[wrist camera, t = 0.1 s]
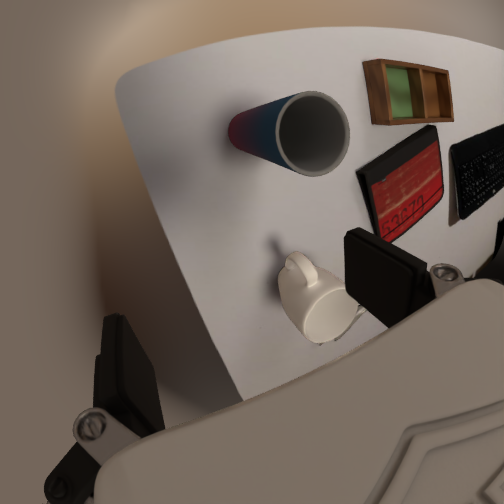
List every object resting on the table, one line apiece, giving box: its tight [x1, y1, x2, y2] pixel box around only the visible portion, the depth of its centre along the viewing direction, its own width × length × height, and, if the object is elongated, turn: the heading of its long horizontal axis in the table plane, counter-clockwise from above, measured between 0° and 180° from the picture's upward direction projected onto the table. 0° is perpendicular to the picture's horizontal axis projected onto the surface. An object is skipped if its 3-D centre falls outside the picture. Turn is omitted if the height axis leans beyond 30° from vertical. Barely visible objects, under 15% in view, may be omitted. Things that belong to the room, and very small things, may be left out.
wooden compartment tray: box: [363, 59, 454, 126], centre depth 37 cm, size 10×20×4 cm, turn 101°
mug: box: [278, 251, 358, 343], centre depth 38 cm, size 12×8×11 cm
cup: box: [228, 91, 350, 177], centre depth 27 cm, size 7×7×15 cm
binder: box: [356, 125, 444, 243], centre depth 45 cm, size 16×2×21 cm
